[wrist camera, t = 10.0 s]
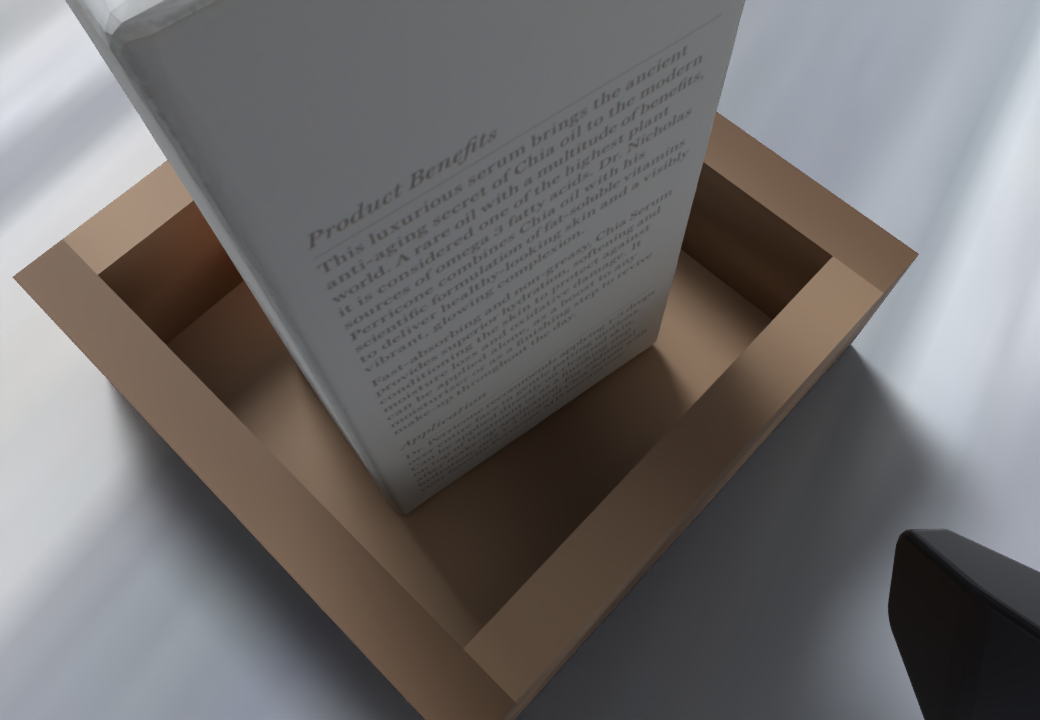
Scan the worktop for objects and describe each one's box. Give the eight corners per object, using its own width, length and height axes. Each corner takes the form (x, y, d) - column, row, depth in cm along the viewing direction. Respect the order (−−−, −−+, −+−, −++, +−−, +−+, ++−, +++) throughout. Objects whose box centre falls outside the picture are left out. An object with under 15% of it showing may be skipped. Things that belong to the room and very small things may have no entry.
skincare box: (530, 196, 19) (525, -565, 8) (660, 347, 18) (865, -332, 7) (276, 352, 18) (-140, -311, 7) (395, 529, 16) (112, 51, 5)
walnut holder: (477, 761, 15) (462, 760, 12) (103, 361, 18) (12, 277, 15) (851, 342, 18) (919, 253, 15) (476, 59, 21) (465, -65, 18)
